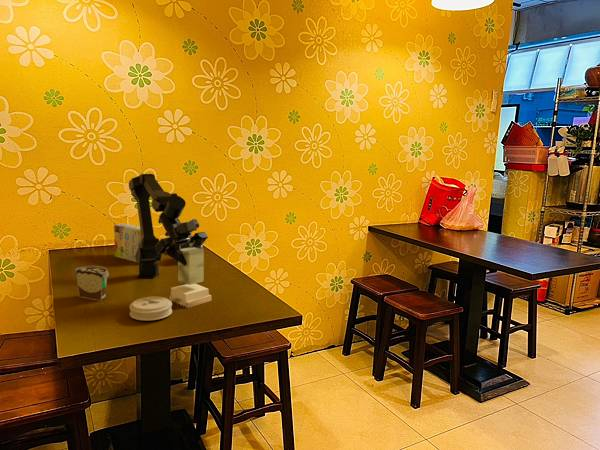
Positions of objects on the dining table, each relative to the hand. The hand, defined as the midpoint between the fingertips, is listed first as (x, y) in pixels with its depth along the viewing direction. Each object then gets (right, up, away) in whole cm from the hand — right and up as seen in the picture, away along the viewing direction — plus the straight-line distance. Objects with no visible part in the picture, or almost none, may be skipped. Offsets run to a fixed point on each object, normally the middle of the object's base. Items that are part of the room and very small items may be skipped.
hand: (193, 263), depth 153 cm
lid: (-11, -16, -11) cm, 22 cm away
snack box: (-38, -3, +51) cm, 64 cm away
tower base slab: (-2, -14, +3) cm, 14 cm away
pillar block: (-1, -6, +2) cm, 7 cm away
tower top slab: (-2, -11, +3) cm, 12 cm away
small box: (-13, -4, +52) cm, 54 cm away
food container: (-34, -12, +3) cm, 36 cm away
